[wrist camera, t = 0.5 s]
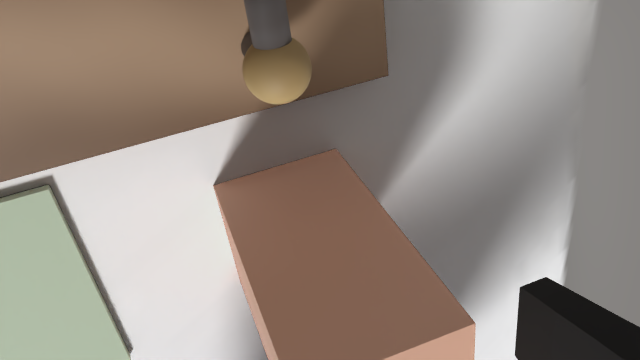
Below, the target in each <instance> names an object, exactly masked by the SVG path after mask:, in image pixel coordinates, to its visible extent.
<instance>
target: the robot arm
mask: <svg viewBox="0 0 640 360" xmlns="http://www.w3.org/2000/svg"><path fill="white" fill-rule="evenodd" d="M515 356H516V358H517V359H518V360H640V327H638V326H636V325H635V324H633V323H630V322H629V321H627V320H625V319H623V318H621V317H619V316H618V315H616V314H614V313H612V312H610V311H608V310H606V309H604V308H602V307H601V306H599V305H597V304H595V303H593V302H592V301H590V300H588V299H586V298H584V297H582V296H581V295H579V294H577V293H575V292H573V291H571V290H569V289H568V288H566V287H564V286H562V285H560V284H558V283H556V282H555V281H553V280H551V279H549V278H547V277H545V278H542V279H540V280H537V281H535V282H532V283H530V284H527V285H524V286H522V287H520V293H519V307H518V320H517V334H516V347H515Z"/></svg>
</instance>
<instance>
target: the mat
mask: <svg viewBox="0 0 640 360" xmlns="http://www.w3.org/2000/svg"><path fill="white" fill-rule="evenodd" d="M0 360H131V358H130V354H129V352H128V350H127V347H126V345H125V343H124V341H123V339H122V337H121V335H120V333H119V331H118V329H117V326H116V324H115V322H114V320H113V318H112V316H111V314H110V312H109V310H108V308H107V306H106V303H105V301H104V299H103V297H102V295H101V293H100V291H99V289H98V287H97V285H96V282H95V280H94V278H93V276H92V274H91V272H90V270H89V268H88V266H87V264H86V261H85V259H84V257H83V255H82V253H81V251H80V249H79V247H78V245H77V243H76V241H75V238H74V236H73V234H72V232H71V230H70V228H69V226H68V224H67V222H66V220H65V217H64V215H63V213H62V211H61V209H60V207H59V205H58V203H57V201H56V199H55V196H54V194H53V192H52V190H51V188H50V186H49V185H45V186H42V187H38V188H35V189H31V190H27V191H24V192H20V193H17V194H13V195H10V196H6V197H2V198H0Z"/></svg>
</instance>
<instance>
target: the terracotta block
mask: <svg viewBox="0 0 640 360" xmlns="http://www.w3.org/2000/svg"><path fill="white" fill-rule="evenodd" d="M213 186H214V190H215V193H216V197H217V200H218V204H219V208H220V211H221V215H222V218H223V222H224V225H225V229H226V232H227V236H228V239H229V243H230V246H231V250H232V254H233V257H234V261H235V264H236V268H237V271H238V275H239V278H240V282H241V285H242V287H243V290H244V293H245V296H246V299H247V302H248V304H249V307H250V310H251V313H252V316H253V318H254V321H255V324H256V327H257V330H258V333H259V335H260V338H261V341H262V344H263V347H264V349H265V352H266V355H267V358H268V360H474V351H475V322H474V321H473V320H472V318H471V317H470V316H469V315H468V313H467V312H466V311H465V310H464V308H463V307H462V306H461V305H460V303H459V302H458V301H457V300H456V298H455V297H454V296H453V295H452V293H451V292H450V291H449V290H448V288H447V287H446V286H445V285H444V283H443V282H442V281H441V280H440V278H439V277H438V276H437V275H436V273H435V272H434V271H433V270H432V268H431V267H430V266H429V265H428V263H427V262H426V261H425V260H424V258H423V257H422V256H421V255H420V253H419V252H418V251H417V250H416V248H415V247H414V246H413V245H412V243H411V242H410V241H409V240H408V238H407V237H406V236H405V235H404V233H403V232H402V231H401V230H400V228H399V227H398V226H397V225H396V223H395V222H394V221H393V220H392V218H391V217H390V216H389V215H388V213H387V212H386V211H385V210H384V208H383V207H382V206H381V205H380V203H379V202H378V201H377V200H376V198H375V197H374V196H373V195H372V193H371V192H370V191H369V190H368V188H367V187H366V186H365V185H364V183H363V182H362V181H361V179H360V178H359V177H358V176H357V174H356V173H355V172H354V171H353V169H352V168H351V167H350V166H349V164H348V163H347V162H346V161H345V159H344V158H343V157H342V156H341V154H340V153H339V152H338V151H337V149H333V150H330V151H327V152H323V153H320V154H317V155H313V156H310V157H306V158H303V159H300V160H296V161H293V162H290V163H286V164H283V165H280V166H276V167H273V168H270V169H266V170H263V171H260V172H256V173H253V174H250V175H246V176H243V177H240V178H236V179H233V180H230V181H226V182H223V183H219V184H216V185H213Z"/></svg>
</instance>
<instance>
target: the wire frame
mask: <svg viewBox="0 0 640 360" xmlns="http://www.w3.org/2000/svg"><path fill="white" fill-rule="evenodd" d="M385 76H388V62H387V47H386V32H385V17H384V2H383V0H0V182H3V181H7V180H10V179H14V178H18V177H21V176H25V175H29V174H32V173H36V172H39V171H43V170H47V169H50V168H54V167H58V166H61V165H65V164H69V163H72V162H76V161H79V160H83V159H87V158H90V157H94V156H98V155H101V154H105V153H109V152H112V151H116V150H119V149H123V148H127V147H130V146H134V145H138V144H141V143H145V142H148V141H152V140H156V139H159V138H163V137H167V136H170V135H174V134H178V133H181V132H185V131H188V130H192V129H196V128H199V127H203V126H207V125H210V124H214V123H218V122H221V121H225V120H228V119H232V118H236V117H239V116H243V115H247V114H250V113H254V112H258V111H261V110H265V109H268V108H272V107H276V106H279V105H283V104H287V103H290V102H294V101H298V100H301V99H305V98H308V97H312V96H316V95H319V94H323V93H327V92H330V91H334V90H338V89H341V88H345V87H348V86H352V85H356V84H359V83H363V82H367V81H370V80H374V79H378V78H381V77H385Z"/></svg>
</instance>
